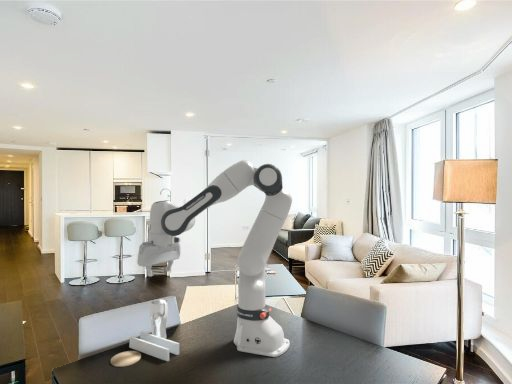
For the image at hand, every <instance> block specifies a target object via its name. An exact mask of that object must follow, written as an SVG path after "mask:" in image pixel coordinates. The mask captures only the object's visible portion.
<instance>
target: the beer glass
mask: <svg viewBox="0 0 512 384" xmlns="http://www.w3.org/2000/svg"><path fill="white" fill-rule="evenodd" d="M168 304H169V301H168V299H164V298H160V299H154V300H151V301H150V310H149V317H150V318H149V319H150V324H151V325H150V326H151V334H152V335H155V336H158V337H162V338H165V339H167V329H166V328H167V322H168V317H169V316H168V315H169V305H168Z"/></svg>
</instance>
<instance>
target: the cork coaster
mask: <svg viewBox="0 0 512 384" xmlns="http://www.w3.org/2000/svg"><path fill="white" fill-rule="evenodd" d="M141 359H142V352H140V351H137V350H127V351H122V352H119V353H117V354H114V356H112V357H111V359H110V364H111V365H112V366H113V367H117V368H119V367H120V368H121V367H128V366H131V365H134V364H137V363H138V362H139V361H140V360H141Z"/></svg>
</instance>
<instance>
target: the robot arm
mask: <svg viewBox="0 0 512 384" xmlns="http://www.w3.org/2000/svg"><path fill="white" fill-rule="evenodd" d="M250 186H254V187H255V188H256V189H258V190H259V191H260V192H263V193H264V194H265V199H264V202H263V204H262V206H261V208H260V210H259V212H258V214H257V216H256V218H255V221H254V223H253V225H252V227H251V228H250V231H249V233H248V234H247V237H246V239H245V241H244V243H243V246H242V248H241V249H240V251H239V254H238V256H237V265H238V268H239V272H238V286H237V287H238V288H237V292H238V296H237V306H236V316H237V321H236V322H237V323H236V329H235V330H236V331H235V334H234V339H233V344H235V346H236V349H237V351H238V352H243V353H249V354H253V355H261V356H266V357H272V358H277V357H280V356H281V355H283V354H284V353H286V352H287V351H288V349H289V348H290V346H291V345H290V344H291V343H290V339H288V338H285V333H284V330H283V327H282V326H281V325H280V324H279V323H277V321H276V320H274V318H272V316H270V312H272V308H271V307H270V308H269V309H268V306H267V304H266V285H267V284H266V281H267V280H266V275H267V274H266V269H267V268H266V264H267V262H268V261H269V258H270V256H271V253H272V252H273V248H274V246H275V243H276V241H277V239H278V236H279V235H280V233H281V231H282V228H283V227H284V224H285V222H286V220H287V218H288V216H289V213H290V210H291V207H292V203H293V197H292V195H291V194H290V193H289V192H288V191H287V190H285V189H284V188H283V175H282V172H281V169H279V167H278V166H276V165H274V164H272V163H265V164H262V165H260V166H259V167H256V166H254V164H253V163H251V162H250V161H249V160H245V159H242V160H239V161H237V162H236V163H234V164H232V165H231V166H229V167H227V168H226V169H225V170H224V171H222V172H220V173H219V174H218V175H217V176H216V177H215V178H214V179H213V180H212V181H211V182H210V183H209V184H208V185H207V186H206V187H205V188H204V189H203V190H202V191H201V192H199V193H198V194H196V195H195V196H194V197H193V198H191V199H189V201H187V202H186V203H184V204H183V205H181V206H178V205H176V204H174V203H173V202H172V201H171V200H160V201H159V200H158V201H155V202H153V203H152V204H151V206H150V212H149V226H150V227H149V228H150V229H149V232H148V235H149V237H148V241H143V242H142V243H141V244H140V245H139V248H138V254H137V265H138V266H139V267H142V268H144V267H145V270H146V272H147V276H148V277H153V276H154V275H155V274H154V273H155V272H154V271H152V268H153V265H158V264H162V263H167V264H166V267H165V272H167V273H168V272H171V271H172V266H173V264H174V261H175V260H179V259H180V258H181V244H180V242H181V237H179V236H180V235H181V234H184V233H185V232H187V231H190V230H191V229H192V228H193V227H194V226H195V223H196V217H197V216H198V215H200V214H201V213H203V212H204V211H205V210H206V209H208V208H210V207H211V206H213V205H216V204H219V203H224V202H226V201H229V200H231V199H233V198H234V197H236V196H238V195H239V194H240V193H241V192H242V191H244V190H246V189H247V188H248V187H250Z"/></svg>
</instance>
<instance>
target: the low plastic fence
mask: <svg viewBox="0 0 512 384" xmlns="http://www.w3.org/2000/svg"><path fill="white" fill-rule="evenodd" d="M139 335H140V336H139V338H138V337H135V336H129V345H128V347H129V348H130V349H131V350H132V349H133V350H134V351H137V352H139V353H144V354H146V355H148V356H152V357H154V358H157V359H159V360H162V361H166V362H169V361H170V354H174V355H176V356H179V355H180V342H176V341H174V340H171V339H167V338H166V339H165V338H162V337H158V336H155V335H152V333H148V332H145V331H143V330H142V331H140V333H139Z"/></svg>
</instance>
